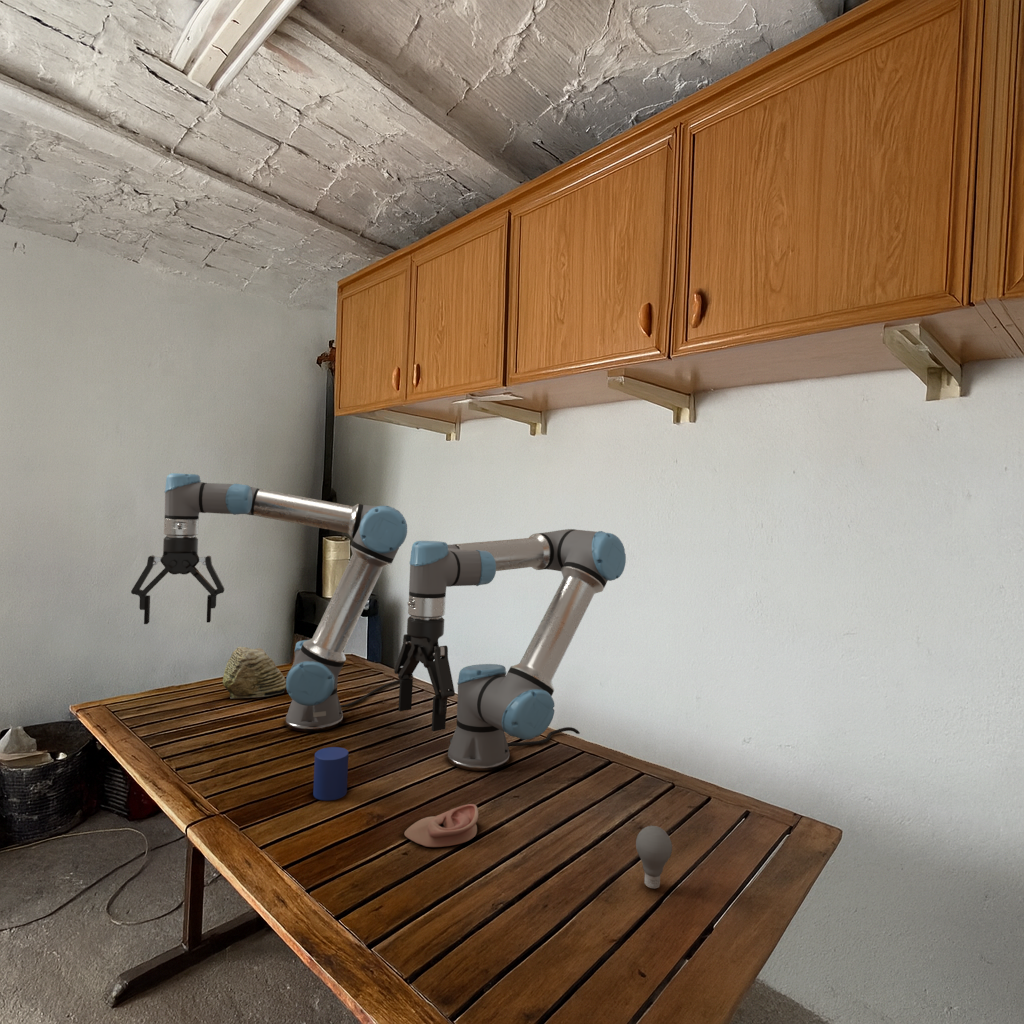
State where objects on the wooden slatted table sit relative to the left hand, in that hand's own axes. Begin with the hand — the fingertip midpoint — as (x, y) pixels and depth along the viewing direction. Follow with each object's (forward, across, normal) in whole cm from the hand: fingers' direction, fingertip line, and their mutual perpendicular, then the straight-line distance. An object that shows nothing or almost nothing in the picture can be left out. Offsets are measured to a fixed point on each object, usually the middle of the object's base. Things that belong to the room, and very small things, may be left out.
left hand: (178, 622), depth 156 cm
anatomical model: (+31, +52, -59) cm, 84 cm away
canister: (+31, +34, -36) cm, 58 cm away
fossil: (+31, +18, +37) cm, 52 cm away
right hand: (+12, +50, -48) cm, 70 cm away
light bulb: (+31, +82, -86) cm, 122 cm away
